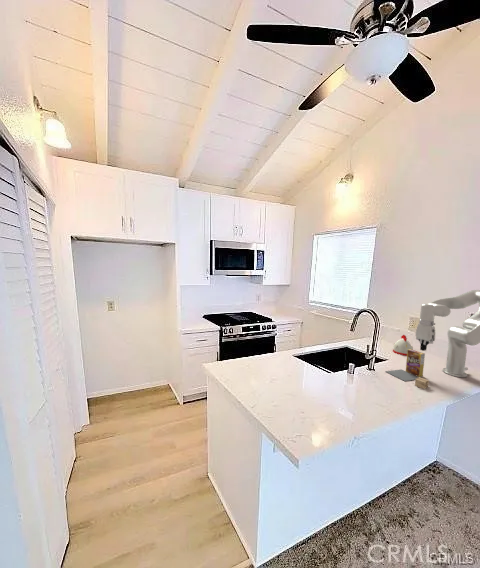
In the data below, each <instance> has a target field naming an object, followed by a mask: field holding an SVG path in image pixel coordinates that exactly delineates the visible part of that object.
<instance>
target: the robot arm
mask: <svg viewBox="0 0 480 568" xmlns="http://www.w3.org/2000/svg"><path fill="white" fill-rule="evenodd" d="M477 304H478V309H477V311H476V312H475V313H474V314H473V315H470V317H468V318H466V319H465V320H464V321H463V323H462V326H459V325H458V326H456V325H454V326H451V327H449V328H448V329H447V341H448V344H447V353H446V363H445V368H442V372H443V373H445V374H447V375H449V376H452V377H458V378H467V377H468V374H467V373H466V372H465V371H468V370H469V368H468V367H466V361H467V360H466V359H467V351H468V350H467V349H468V348H467V345H468V346H473V347H474V346H477V345H479V344H480V290H479V289H473V290H470V291H467V292H465V293H462V294H459V295H456V296H451V297H446V298H439V299H437V300H434V301H431V302H429V303H422V304H421V306H420V315H419V322H418V324H417V326H416V329H415V330H416V331H415V339H416V340H417V341H418V342H419V344H420V351H425V352H426V351H427V347H428V345H431V344H432V345H433V344H434V342H436V341H435V340H436V327H435V325H436V323H435V316H436V317H442V318H443V317H444V318H446V317H448V316H449V315H450V314H451V312H452V311H451V310H461V309H466V308H468V307H471V306H473V305H477Z"/></svg>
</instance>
